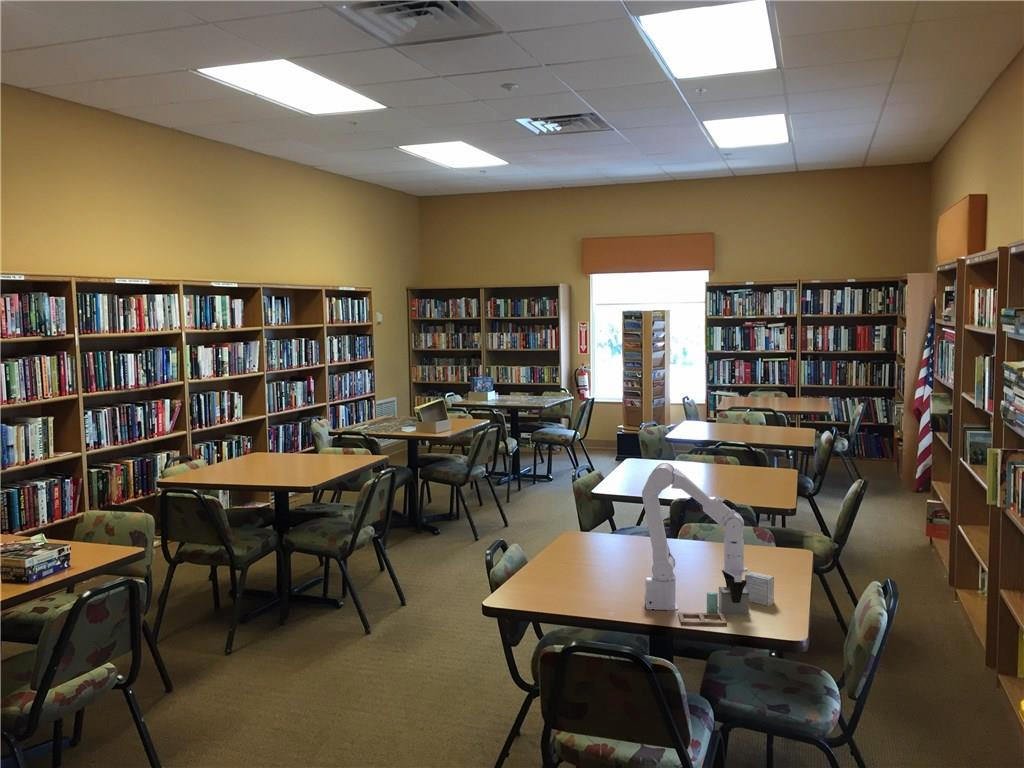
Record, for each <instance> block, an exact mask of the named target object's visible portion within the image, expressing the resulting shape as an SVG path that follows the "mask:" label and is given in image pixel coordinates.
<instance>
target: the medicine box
mask: <svg viewBox="0 0 1024 768" xmlns="http://www.w3.org/2000/svg"><path fill="white" fill-rule="evenodd" d="M744 580H746V581H747V584H746V585H745V587H746V589H747V591H748V592H749V603H754V604H756V605H757V604H758V605H762V606H765V607H770V606H771V605H773V604H775V576H773V575H768V574H764V573H759V572H755V571H750V572H748V573H746V574H744Z"/></svg>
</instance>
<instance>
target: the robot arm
mask: <svg viewBox="0 0 1024 768" xmlns="http://www.w3.org/2000/svg"><path fill="white" fill-rule="evenodd" d="M670 486H671V487H670ZM669 487H670V489H673V490H674V489H676V490H677V489H678V490H682V491H683V492H685V494H687V495H689V496H690V497H691V498H693V499H694V500H695V501H696V502H698V504H700V505H701V506H702V511H703V512H704V513H705V514H706V515H708V516H709V517H710V518H711V519H712V520H714V521H715V522H716V523H717V524H719V525H720V526H722V527H723V531H724V538H723V539H724V541H723V549H724V550H723V555H724V556H723V569H721V572H722V574H723V577H724V581H725V585H726V586H725V587H730V591H731V598H732V602H733V603H740V601H741V596H742V592H743V589H744V587H745V585H746V584H747V581H746V580H745V579H744V580H743V578H742V577H743V575H744V573H745V572H749V568H747V567H744V566H745V561H744V560H745V558H744V557H745V556H744V555H745V553H744V552H745V550H744V549H745V543H744V542H745V539H744V531H745V521H744V519H743V517H742V516H741V514H740V513H739V512H737V511H736V510H734V509H731V508H730V507H729V506H727V505H726V503H724V500H723V499H722V498H721V497H719V498H718V497H716V496H709V495H707V494H706V493H705V492H704V490H702V489H701V488H700V487H699V486H697V484H695V483H694V482H693V481H692V480H691V479H689V477H688V476H686V475H685V474H684V472H682V471H680V470H679V469H678V468H677V467H676V468H674V466H673V465H672V464H670V463H669V462H662V463H659V464H658V465H656V467H655V468H654V469H653V470H652V471H651V473H650V474H649V476H648V478H647V480H646V483H645V485H644V487H643V489H642V491H641V497H642V502H643V507H644V511H645V516H646V523H647V528H648V532H649V538H650V544H651V548H652V562H653V563H652V567H651V574H652V575H651V576H648V577H644V578H645V580H644V598H643V599H644V602H645V607H646V610H652V609H654V610H657V611H659V610H660V611H661V610H662V611H666V610H667V611H668V610H669V611H670V610H671V611H678V610H679V607H678V604H677V599H676V597H677V596H676V592H677V591H676V589H677V588H676V587H677V586H676V582H677V579H676V575H675V574H674V569H675V568H676V567H675V566H676V558H675V557H674V556H673V555H672V553H671V549H670V547H669V545H668V540H667V535H666V530H665V525H664V518H663V514H662V509H661V503H660V500H659V495H660V494H661V493H662V492H663V491H664V490H665V489H666V488H669ZM654 610H653V611H654Z"/></svg>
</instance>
